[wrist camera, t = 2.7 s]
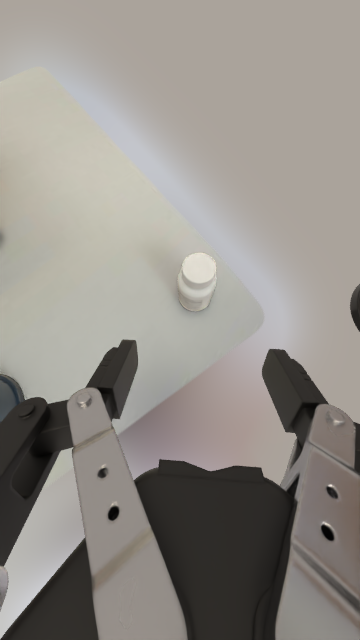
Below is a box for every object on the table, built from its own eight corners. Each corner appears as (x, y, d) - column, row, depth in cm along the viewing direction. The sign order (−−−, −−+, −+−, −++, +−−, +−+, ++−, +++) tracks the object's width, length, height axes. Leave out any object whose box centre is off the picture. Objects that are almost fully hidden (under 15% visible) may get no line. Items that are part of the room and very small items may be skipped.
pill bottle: (197, 276, 27) (202, 240, 19) (217, 299, 26) (230, 271, 18) (172, 293, 26) (167, 263, 18) (191, 318, 25) (194, 296, 18)
